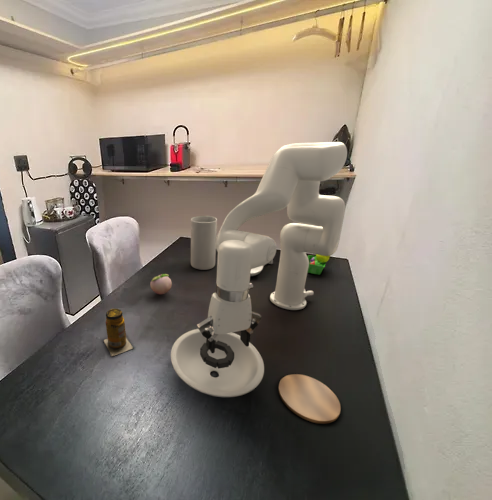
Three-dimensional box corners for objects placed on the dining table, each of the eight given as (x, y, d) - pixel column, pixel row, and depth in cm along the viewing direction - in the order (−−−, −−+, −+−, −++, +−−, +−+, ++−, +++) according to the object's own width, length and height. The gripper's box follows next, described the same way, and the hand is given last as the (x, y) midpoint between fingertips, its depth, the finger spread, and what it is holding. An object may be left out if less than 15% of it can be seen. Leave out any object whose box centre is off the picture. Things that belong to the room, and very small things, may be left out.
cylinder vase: (217, 269, 132) (220, 222, 123) (192, 271, 133) (193, 223, 123) (211, 259, 144) (213, 215, 135) (188, 260, 144) (189, 216, 135)
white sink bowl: (251, 435, 58) (254, 414, 55) (155, 389, 70) (154, 370, 67) (268, 361, 76) (270, 343, 74) (190, 335, 88) (190, 319, 86)
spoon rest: (252, 282, 119) (254, 267, 116) (230, 273, 128) (231, 260, 125) (279, 266, 132) (281, 253, 129) (257, 259, 141) (258, 247, 138)
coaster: (310, 372, 72) (310, 369, 72) (354, 416, 60) (355, 414, 60) (267, 381, 70) (267, 379, 70) (304, 429, 58) (304, 427, 58)
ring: (224, 342, 75) (224, 338, 75) (239, 365, 67) (239, 360, 67) (196, 347, 74) (196, 342, 74) (207, 370, 66) (208, 365, 66)
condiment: (123, 333, 92) (120, 304, 87) (133, 348, 84) (130, 317, 80) (103, 340, 89) (99, 310, 84) (111, 357, 82) (107, 325, 77)
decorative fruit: (161, 302, 108) (160, 281, 104) (147, 295, 114) (146, 274, 110) (176, 293, 114) (176, 273, 110) (163, 287, 120) (162, 267, 116)
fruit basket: (306, 264, 132) (310, 243, 128) (327, 267, 127) (332, 246, 123) (303, 273, 124) (307, 250, 120) (326, 277, 119) (331, 254, 115)
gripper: (255, 278, 69) (249, 331, 75) (192, 288, 66) (191, 342, 72) (274, 293, 62) (265, 350, 68) (204, 304, 59) (202, 362, 65)
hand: (227, 346), depth 70 cm, fingers open, 9 cm apart
